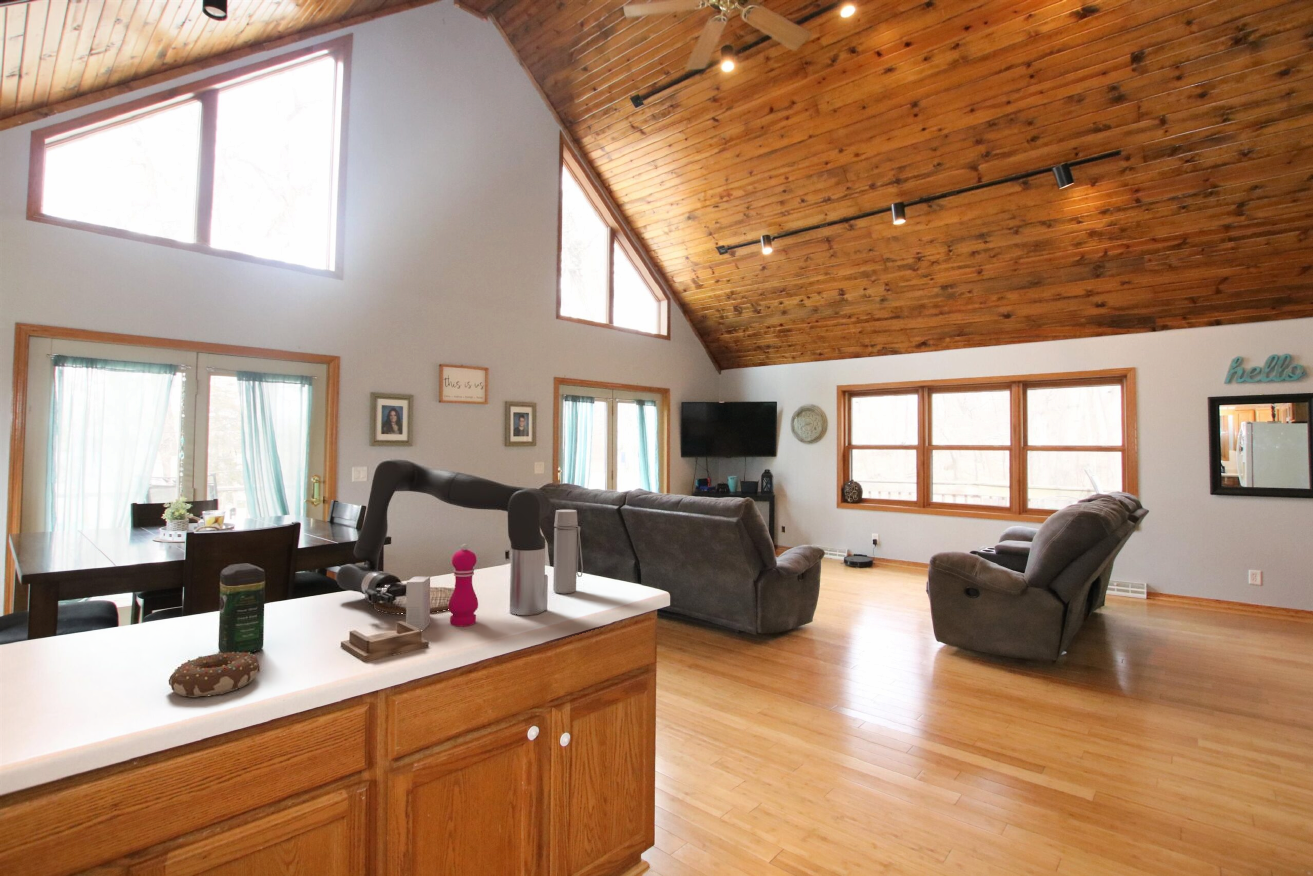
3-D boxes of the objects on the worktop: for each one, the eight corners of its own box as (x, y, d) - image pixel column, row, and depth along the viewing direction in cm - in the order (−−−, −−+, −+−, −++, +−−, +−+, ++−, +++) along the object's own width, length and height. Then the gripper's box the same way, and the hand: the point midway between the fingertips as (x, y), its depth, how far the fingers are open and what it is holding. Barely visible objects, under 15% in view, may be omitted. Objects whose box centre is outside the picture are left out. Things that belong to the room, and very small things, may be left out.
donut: (267, 687, 118) (268, 660, 118) (176, 708, 108) (176, 679, 108) (248, 667, 128) (249, 642, 128) (163, 684, 118) (164, 658, 118)
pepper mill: (469, 628, 156) (470, 546, 156) (442, 625, 157) (443, 545, 157) (482, 620, 163) (484, 542, 163) (457, 618, 164) (458, 541, 165)
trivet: (379, 596, 188) (379, 589, 188) (467, 591, 195) (467, 585, 195) (368, 618, 164) (368, 611, 164) (468, 612, 171) (468, 605, 171)
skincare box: (412, 624, 158) (413, 576, 159) (430, 623, 159) (430, 576, 159) (405, 631, 152) (405, 581, 152) (423, 631, 153) (424, 581, 153)
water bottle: (549, 594, 192) (550, 511, 192) (557, 588, 199) (558, 509, 199) (578, 595, 190) (579, 512, 190) (585, 589, 198) (586, 509, 198)
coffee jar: (267, 651, 136) (269, 565, 136) (224, 660, 131) (226, 570, 131) (256, 641, 143) (258, 559, 143) (214, 648, 138) (216, 563, 138)
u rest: (402, 634, 150) (402, 618, 150) (428, 646, 141) (428, 630, 141) (340, 647, 140) (341, 630, 140) (364, 661, 131) (364, 644, 131)
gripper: (354, 576, 165) (380, 586, 154) (407, 569, 176) (435, 578, 165) (353, 605, 165) (379, 617, 154) (406, 596, 176) (434, 607, 165)
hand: (408, 597), depth 159 cm, fingers open, 8 cm apart
